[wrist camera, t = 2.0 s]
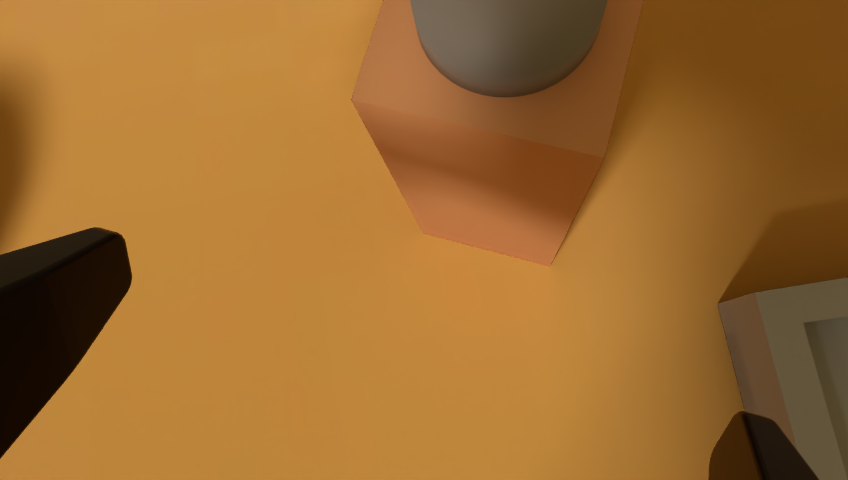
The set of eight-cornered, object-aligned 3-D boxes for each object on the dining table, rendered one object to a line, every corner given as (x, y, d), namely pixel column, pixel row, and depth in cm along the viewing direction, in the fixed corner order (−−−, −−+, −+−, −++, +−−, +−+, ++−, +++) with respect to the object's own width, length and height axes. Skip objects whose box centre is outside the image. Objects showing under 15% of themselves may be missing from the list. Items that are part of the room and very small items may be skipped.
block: (549, 266, 21) (613, 140, 9) (423, 233, 22) (339, 78, 10) (581, 144, 22) (675, -111, 10) (457, 115, 22) (415, -153, 11)
